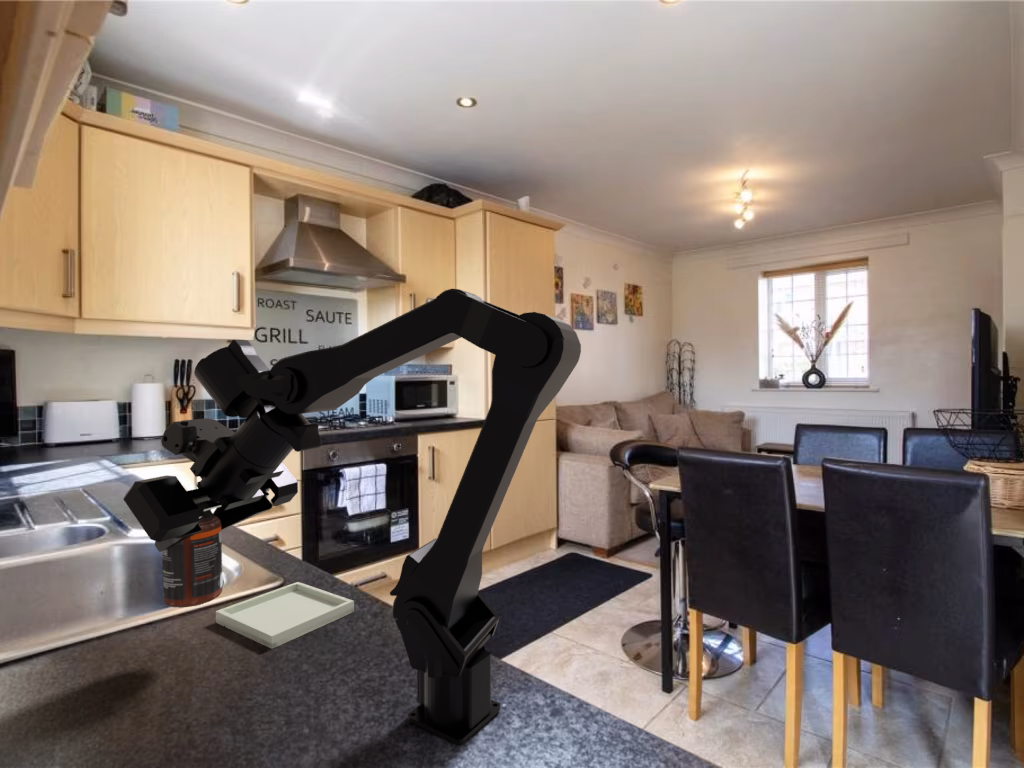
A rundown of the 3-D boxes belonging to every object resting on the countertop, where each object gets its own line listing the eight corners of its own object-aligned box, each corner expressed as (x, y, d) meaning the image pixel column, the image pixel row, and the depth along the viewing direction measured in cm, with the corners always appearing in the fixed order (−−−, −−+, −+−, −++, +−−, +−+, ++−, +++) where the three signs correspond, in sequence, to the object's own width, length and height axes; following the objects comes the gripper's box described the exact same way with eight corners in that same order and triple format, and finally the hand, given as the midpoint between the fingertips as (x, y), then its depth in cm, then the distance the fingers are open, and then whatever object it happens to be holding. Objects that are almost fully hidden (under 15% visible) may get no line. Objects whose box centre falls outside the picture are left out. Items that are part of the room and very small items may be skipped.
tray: (354, 611, 76) (353, 600, 76) (272, 648, 66) (271, 636, 66) (298, 591, 83) (297, 581, 83) (215, 622, 72) (215, 611, 72)
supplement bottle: (233, 589, 67) (232, 495, 66) (201, 611, 61) (199, 507, 60) (186, 588, 67) (185, 494, 67) (149, 609, 61) (148, 506, 61)
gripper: (278, 391, 71) (213, 473, 75) (135, 398, 53) (60, 505, 57) (330, 456, 68) (260, 537, 72) (199, 486, 51) (116, 591, 55)
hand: (183, 540), depth 64 cm, fingers closed on supplement bottle, 6 cm apart
